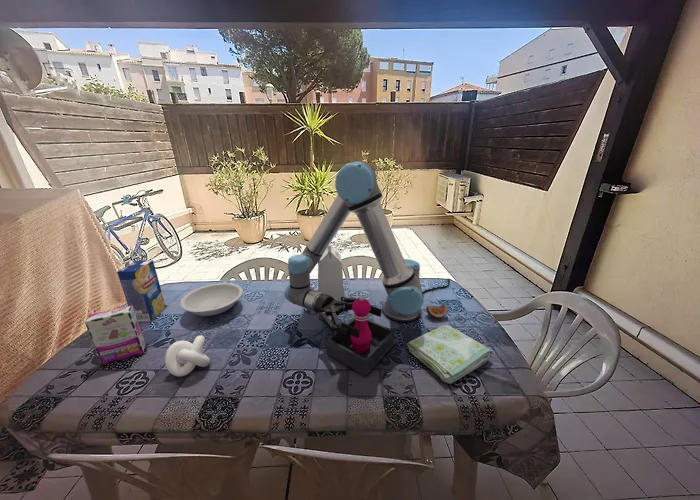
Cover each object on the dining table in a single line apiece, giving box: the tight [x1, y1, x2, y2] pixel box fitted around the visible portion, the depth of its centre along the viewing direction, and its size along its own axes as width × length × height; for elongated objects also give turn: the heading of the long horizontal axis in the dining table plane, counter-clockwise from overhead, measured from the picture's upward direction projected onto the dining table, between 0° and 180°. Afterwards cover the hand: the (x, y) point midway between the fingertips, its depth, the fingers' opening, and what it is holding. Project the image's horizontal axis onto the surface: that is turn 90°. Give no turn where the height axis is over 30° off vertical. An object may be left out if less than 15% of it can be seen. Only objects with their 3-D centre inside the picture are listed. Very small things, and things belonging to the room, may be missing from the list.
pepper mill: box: [350, 294, 372, 353], centre depth 89 cm, size 7×7×20 cm
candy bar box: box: [84, 305, 147, 365], centre depth 88 cm, size 11×5×16 cm, turn 117°
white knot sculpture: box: [164, 334, 211, 378], centre depth 85 cm, size 11×12×9 cm
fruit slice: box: [426, 305, 449, 319], centre depth 110 cm, size 8×7×5 cm
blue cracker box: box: [116, 259, 167, 323], centre depth 110 cm, size 7×11×22 cm, turn 7°
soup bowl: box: [179, 282, 244, 317], centre depth 116 cm, size 24×24×7 cm
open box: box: [326, 317, 396, 377], centre depth 92 cm, size 18×16×6 cm
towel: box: [406, 324, 493, 385], centre depth 89 cm, size 18×21×5 cm
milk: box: [317, 242, 345, 300], centre depth 122 cm, size 12×12×26 cm
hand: (370, 323), depth 87 cm, fingers open, 13 cm apart
